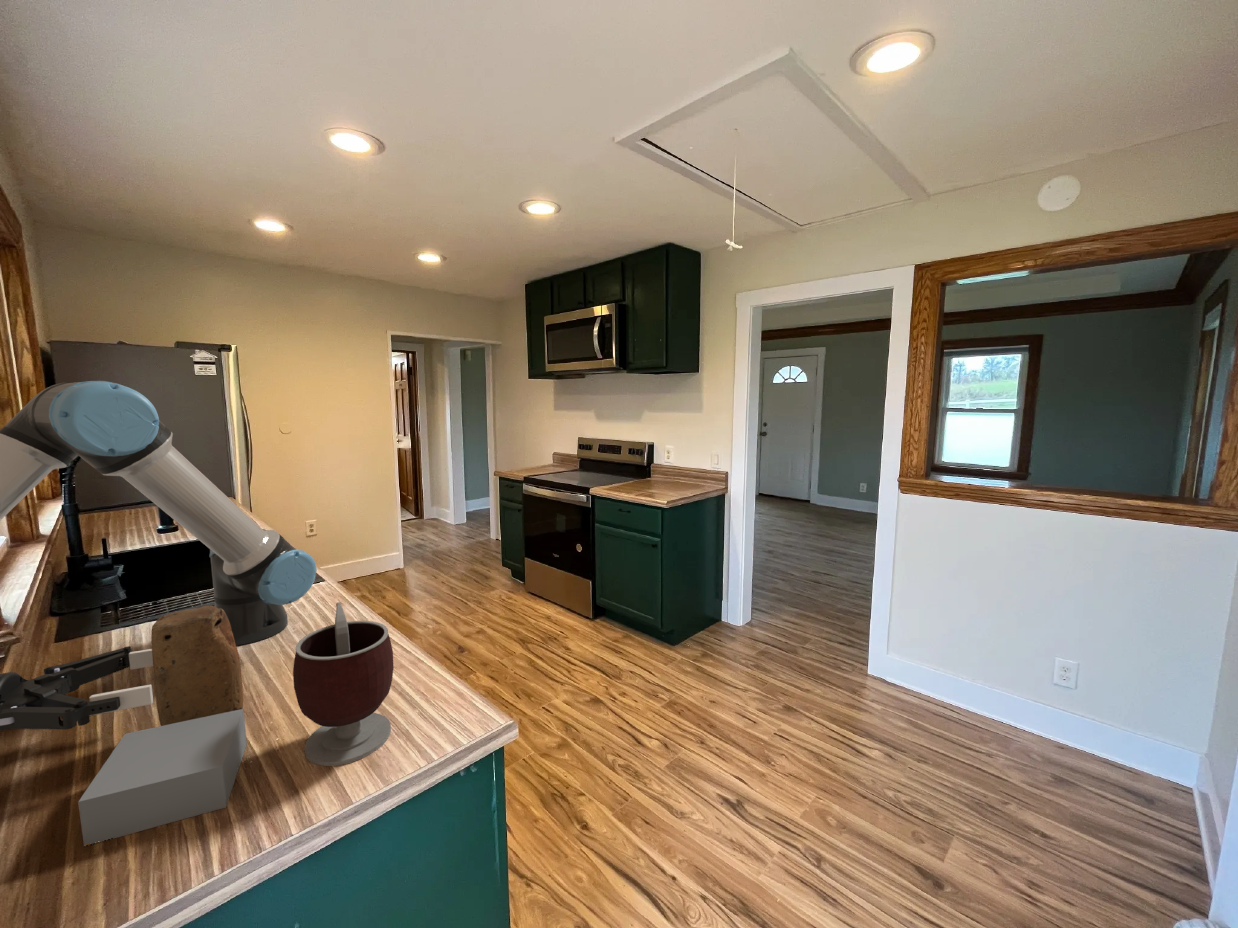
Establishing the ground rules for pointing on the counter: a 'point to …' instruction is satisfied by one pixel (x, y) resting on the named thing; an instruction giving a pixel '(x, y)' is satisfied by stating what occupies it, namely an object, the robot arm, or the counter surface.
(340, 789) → the counter surface
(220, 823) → the counter surface
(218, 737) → the grey base block
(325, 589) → the counter surface
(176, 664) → the block
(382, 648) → the mate gourd
